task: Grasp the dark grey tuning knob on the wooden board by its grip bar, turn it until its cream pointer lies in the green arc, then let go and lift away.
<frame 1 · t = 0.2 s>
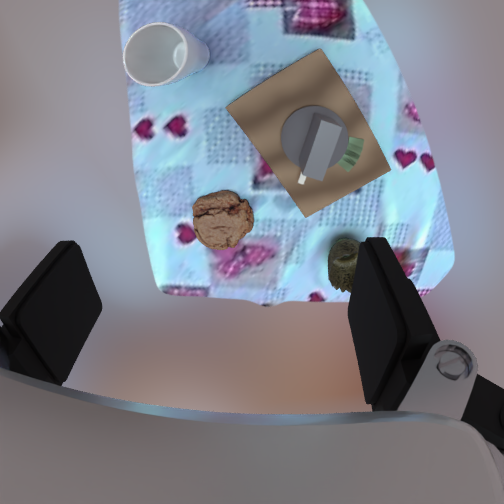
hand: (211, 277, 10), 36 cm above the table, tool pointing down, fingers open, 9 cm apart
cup: (343, 244, 52), on the table
wooden board: (312, 134, 41), on the table
drinking glass: (191, 55, 36), on the table
tuning knob: (315, 151, 37), point 6 cm above the table, hinge at -50.0°
cookie: (223, 217, 51), on the table
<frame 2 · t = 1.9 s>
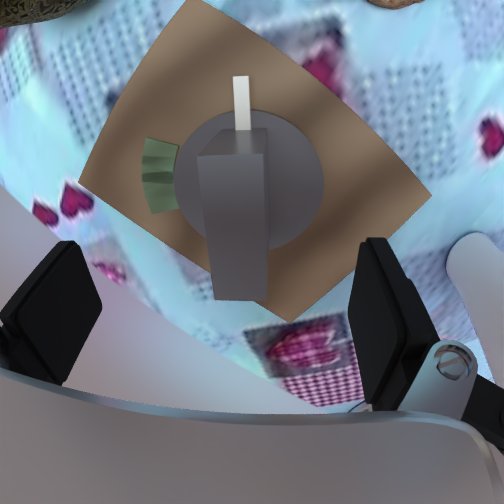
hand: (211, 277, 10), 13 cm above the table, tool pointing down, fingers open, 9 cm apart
wooden board: (251, 170, 21), on the table
drinking glass: (466, 254, 23), on the table
tuning knob: (242, 185, 16), point 6 cm above the table, hinge at -50.0°
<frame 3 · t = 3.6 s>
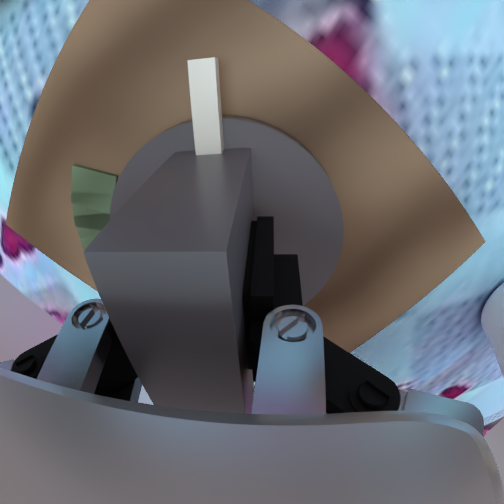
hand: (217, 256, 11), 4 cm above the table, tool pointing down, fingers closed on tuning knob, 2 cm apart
wooden board: (231, 205, 14), on the table
tuning knob: (205, 257, 9), point 6 cm above the table, hinge at -50.0°, touching gripper
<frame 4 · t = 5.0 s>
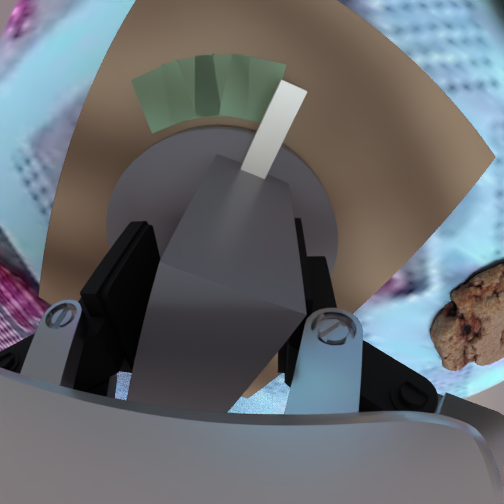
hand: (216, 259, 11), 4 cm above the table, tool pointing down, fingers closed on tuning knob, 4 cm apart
wooden board: (226, 213, 14), on the table
tuning knob: (215, 272, 9), point 6 cm above the table, hinge at 9.4°, touching gripper
cookie: (485, 308, 18), on the table
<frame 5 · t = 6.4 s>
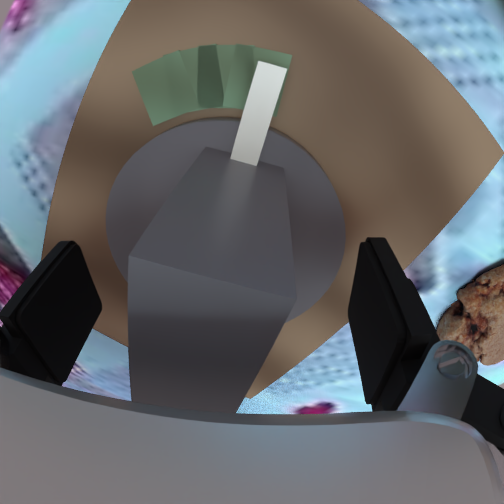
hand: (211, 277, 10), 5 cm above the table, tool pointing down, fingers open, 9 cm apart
wooden board: (230, 209, 14), on the table
tuning knob: (214, 267, 9), point 6 cm above the table, hinge at 16.7°
cookie: (491, 307, 17), on the table
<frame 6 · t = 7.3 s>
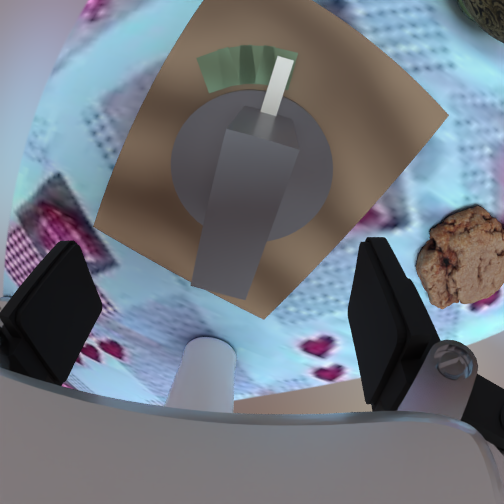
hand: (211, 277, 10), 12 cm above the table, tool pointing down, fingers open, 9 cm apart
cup: (471, 2, 11), on the table
wooden board: (254, 155, 19), on the table
drinking glass: (211, 349, 31), on the table
tuning knob: (251, 171, 14), point 6 cm above the table, hinge at 17.1°
cookie: (464, 252, 22), on the table
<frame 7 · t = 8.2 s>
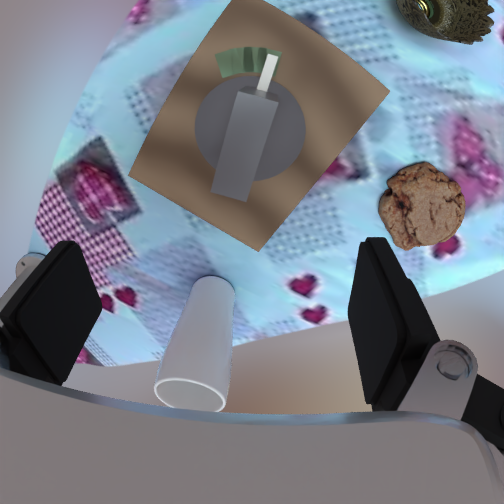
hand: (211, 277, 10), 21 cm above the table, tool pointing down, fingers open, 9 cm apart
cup: (413, 9, 19), on the table
wooden board: (252, 123, 27), on the table
drinking glass: (214, 289, 38), on the table
tuning knob: (250, 124, 21), point 6 cm above the table, hinge at 17.1°
cookie: (420, 203, 30), on the table
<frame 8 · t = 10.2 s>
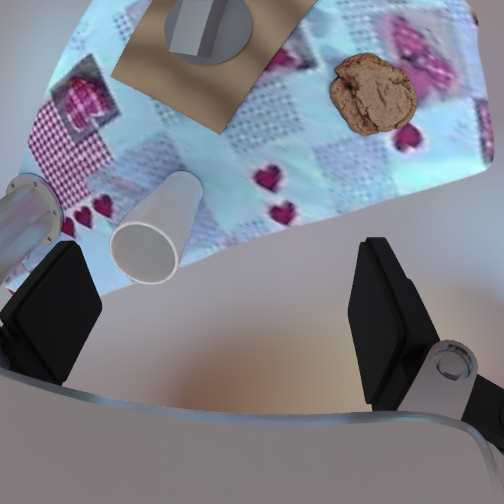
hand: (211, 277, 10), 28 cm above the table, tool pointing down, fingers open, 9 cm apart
wooden board: (212, 28, 27), on the table
drinking glass: (183, 188, 39), on the table
tuning knob: (204, 12, 22), point 6 cm above the table, hinge at 17.1°
cookie: (372, 93, 31), on the table
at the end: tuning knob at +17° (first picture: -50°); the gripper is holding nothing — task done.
